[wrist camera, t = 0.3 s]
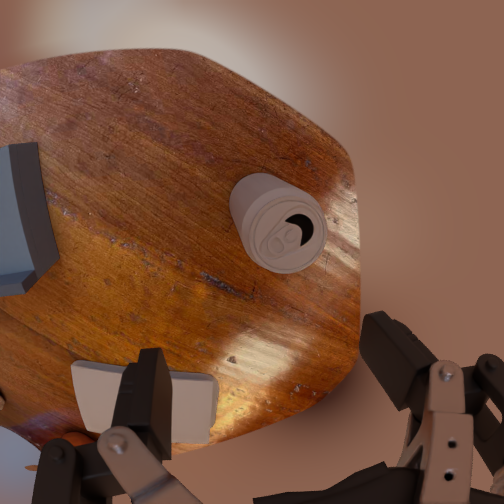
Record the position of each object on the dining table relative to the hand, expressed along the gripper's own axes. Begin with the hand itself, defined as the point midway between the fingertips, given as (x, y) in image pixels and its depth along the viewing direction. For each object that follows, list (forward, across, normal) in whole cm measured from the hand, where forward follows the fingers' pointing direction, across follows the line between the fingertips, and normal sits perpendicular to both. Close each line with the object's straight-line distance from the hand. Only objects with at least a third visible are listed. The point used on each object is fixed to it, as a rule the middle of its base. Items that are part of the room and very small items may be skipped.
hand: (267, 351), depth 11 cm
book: (+22, +16, +28) cm, 39 cm away
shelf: (+22, +29, -4) cm, 37 cm away
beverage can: (+22, -4, -1) cm, 22 cm away
